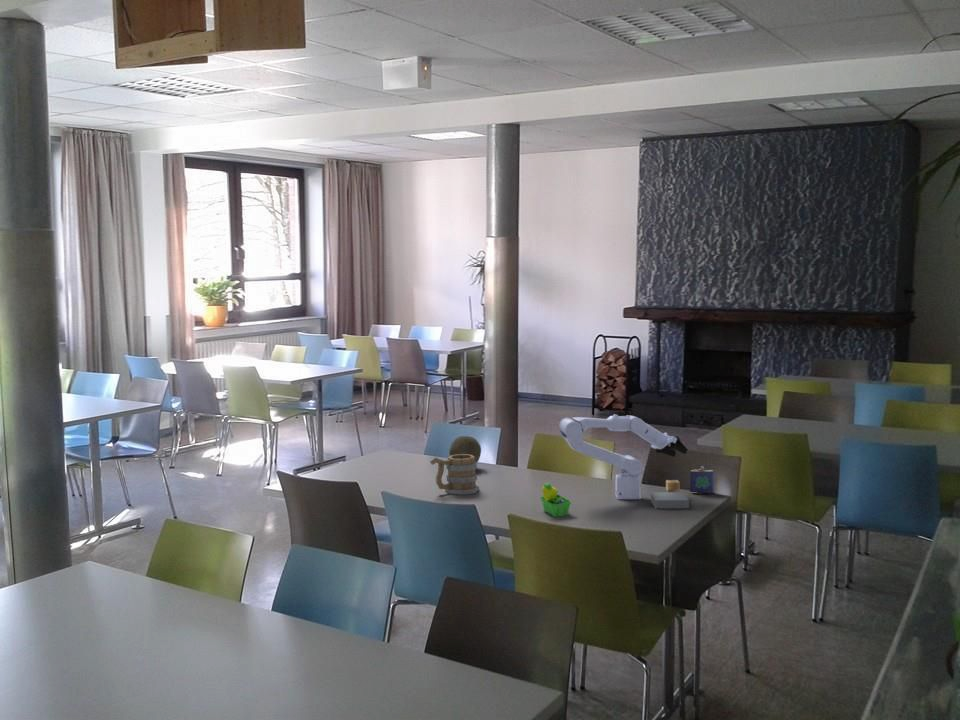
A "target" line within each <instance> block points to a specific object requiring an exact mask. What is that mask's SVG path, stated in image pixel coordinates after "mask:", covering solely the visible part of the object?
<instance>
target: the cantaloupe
mask: <svg viewBox="0 0 960 720" xmlns="http://www.w3.org/2000/svg"><path fill="white" fill-rule="evenodd" d="M481 447H482V446H481V444H480V442H479V441H478V440H477V438H475V437H473V436H469V435H462V436H460V435H459V436H458V437H456V438H455V439H454V440H453V441H452V443H451V444H450V447H449V451H448V452H449V454H448V455H449V456H451V455H458V454H469V455H473V456H475V462H476V463H477V464H478V463H479V460H480V458H481V454H482V448H481ZM449 456H448V457H449Z"/></svg>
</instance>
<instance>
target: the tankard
mask: <svg viewBox="0 0 960 720" xmlns="http://www.w3.org/2000/svg"><path fill="white" fill-rule="evenodd" d="M429 462H430V464H431V465H433V466H434V465H435V464H436V463H437V464H438V467H437V473H436V476H435V484H436V485H437V488H439V490H444V491H445V492H446V493H448V494H449V495H461V496H465V495H471V494H472V493H473V494H475V493H477V492H478V491H479V490H480V486H479V485H478V484H477V483H476V481H478V474H477V473H476V469H477V468H478V462H477V463H476V462H475V456H473V455H469V454H458V455H451V456H448V457H447V459H446V460H445V459H444V460H443V459H440V458H438V457H434V458H432V459H431V460H429ZM445 468H446V470H447V471H448V472H447V475H446V481H447V482H446V483H443V481H442V480H443V479H442V477H443V475H444V471H445Z"/></svg>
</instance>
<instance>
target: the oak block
mask: <svg viewBox="0 0 960 720" xmlns="http://www.w3.org/2000/svg"><path fill="white" fill-rule="evenodd" d="M665 492H681V483H680V481H679V480H678V479H671V480H670V479H666V480H665Z"/></svg>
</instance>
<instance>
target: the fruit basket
mask: <svg viewBox="0 0 960 720" xmlns="http://www.w3.org/2000/svg"><path fill="white" fill-rule="evenodd" d="M541 491H542V496H540V501H541V502H542V506H543V509H544V512H546V513H547V514H549V515H551V516H553V517H563V516H568V513H569V509H570V506H571V503H572V501H571V500H569V499H568V498H565V497H563V496H561V495H559V494H558V492H559V490H558V489H557V488H555V487H554V486H552V485H551V484H550V482H549V483H543V485H542V487H541Z"/></svg>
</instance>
